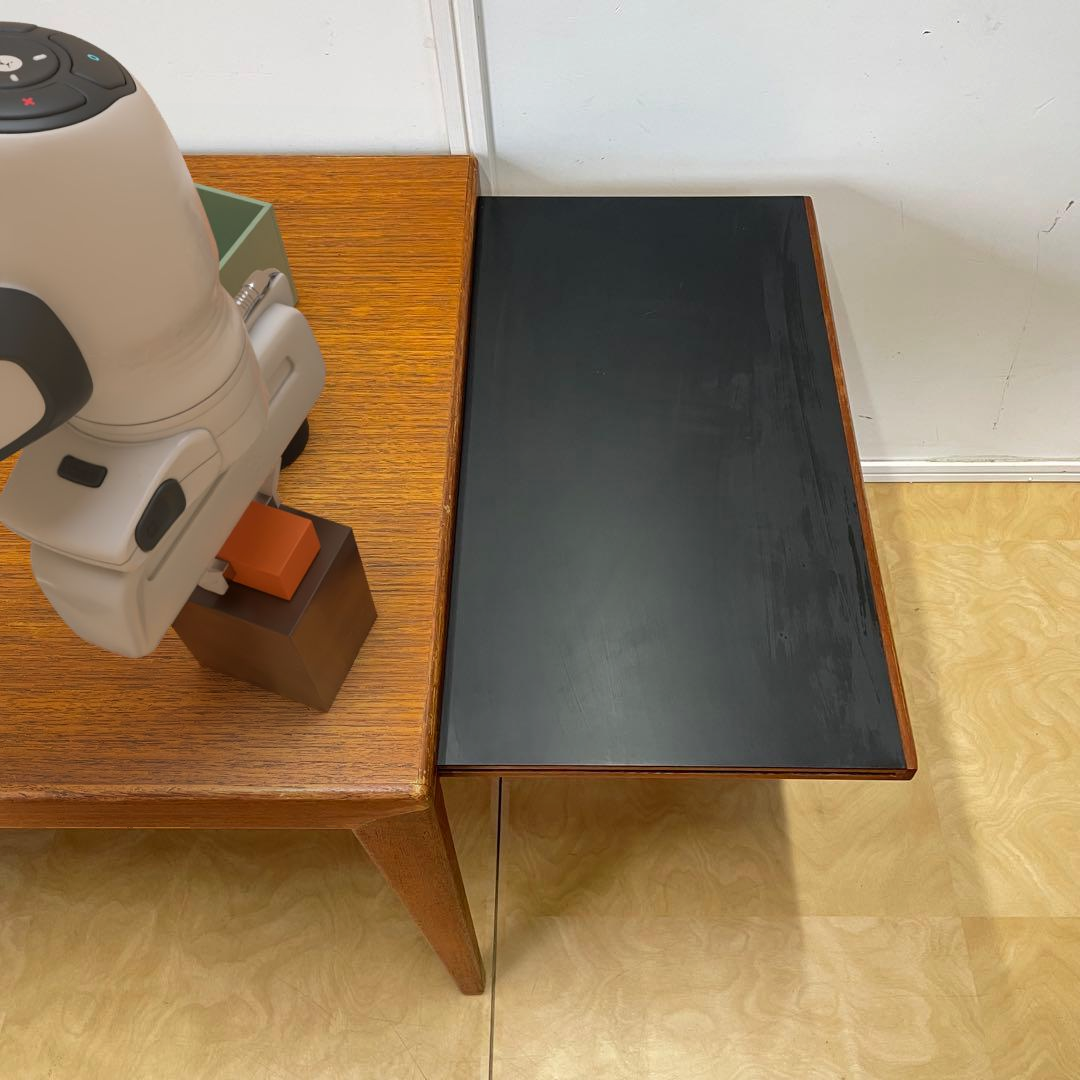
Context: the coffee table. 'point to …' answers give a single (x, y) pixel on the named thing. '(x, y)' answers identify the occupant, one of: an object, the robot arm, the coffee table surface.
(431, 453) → the coffee table surface
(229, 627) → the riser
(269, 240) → the green box
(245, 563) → the block
